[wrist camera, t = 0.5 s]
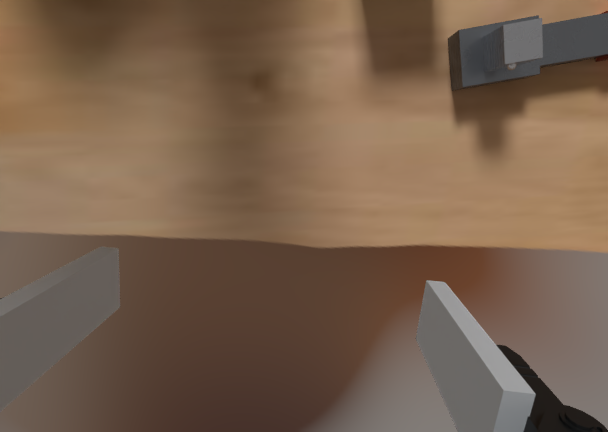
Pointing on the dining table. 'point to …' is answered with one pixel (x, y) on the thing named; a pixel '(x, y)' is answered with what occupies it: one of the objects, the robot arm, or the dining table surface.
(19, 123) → the dining table surface
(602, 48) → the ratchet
